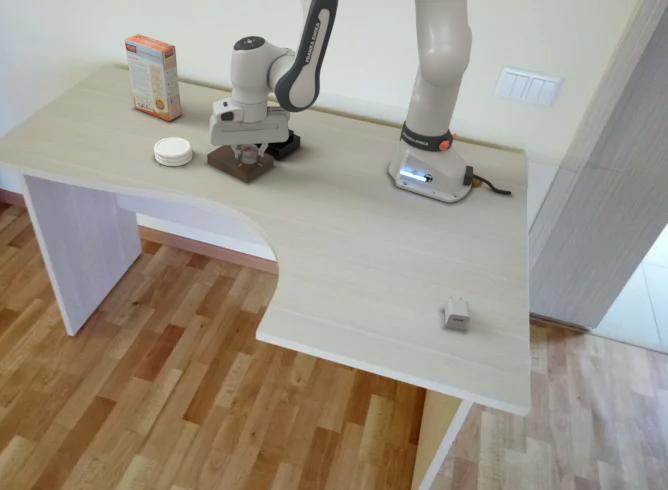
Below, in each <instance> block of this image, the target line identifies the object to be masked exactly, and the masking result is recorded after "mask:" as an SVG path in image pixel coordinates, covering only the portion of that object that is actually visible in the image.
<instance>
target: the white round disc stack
mask: <svg viewBox="0 0 668 490" xmlns="http://www.w3.org/2000/svg"><path fill="white" fill-rule="evenodd" d="M153 150H154V158H155V160H156V161H157V163H159V164H161V165H163V166H167V167H180V166H183V165H186V164H188V163H189V162H191V160H192V159H193V154H194V153H193V145H192V143H191V142H190V141H189V140H187V139H185V138H182V137H177V136H172V137H171V136H170V137H165V138H162V139H160V140H158V141H156V142H155V144H154V146H153Z"/></svg>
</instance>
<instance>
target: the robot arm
mask: <svg viewBox="0 0 668 490" xmlns="http://www.w3.org/2000/svg"><path fill="white" fill-rule="evenodd" d="M339 2H340V0H300V3H301V8H302V28H301V31H300V35H299V39H298V43H297V45H296V49H295V51H294V50H293V49H291V48H288V47H280V46H277V45H274V44H272V43H270V42H268V41H267V40H266V39H265V38H264V37H262V36H259V35H248V36H245V37H242V38H240V39H239V40H237V41H236V42H235V44H234V45H233V48H232V51H231V58H230V81H231V85H232V87H231V88H232V89H231V92H230V96H228V97H225V98H223V99H222V98H221V99H220V100H217V101H214V102H213V103H212V112H213V113H212V114H211V116H210V119H209V124H208V125H209V126H208V139H209V143H210V144H211V145H212V146H213V147H221V146H224V145H231V147H232V149H233V151H234V152H235V158H236V159H241V150H237V145H241V144H257V143H262V146H261V147H260V148H259V149H258V157H263V153H264V151H265V150H266V148H267V147H268V143H274V142H285V141H286V140H287V139H288V137H289V131H288V129H289V121H290V118H291V113H301V112H304V111H307V110H308V109H310V108H311V107H312V106H313V105H314V104H315V103H316V101H317V100H318V98H319V95H320V90H321V70H322V67H323V63H324V60H325V56H326V52H327V50H328V49H327V48H328V45H329V42H330V39H331V36H332V32H333V28H334V25H335V21H336V16H337V11H338V7H339ZM414 7H415V8H414V9H415V27H416V28H415V30H416V42H417V44H416V45H417V53H418V67H417V71H416V74H415V75H416V76H415V79H414V84H413V86H412V87H413V88H412V91H411V96H410V100H409V104H408V109H407V114H406V118H405V119H404V121H403V123H402V128H401V129H400V137H399V144H398V147H397V150H396V152H395V154H394V157H393V159H392V161H391V163H390V165H389V166H388V172H389V174H390V176H391V177H392V178H393V180H394V184H395V187H397V188H398V189H402V190H404V191H409V192H413V193H415V194H419V195H422V196H425V197H427V198H432V199H435V200H438V201H442V202H445V203H449V204H450V203H456V202H458V201H460V200H462V199H463V198H465V196H467V195H468V193H469V192H470V190H471V188H472V184H473V183H472V182H473V179H474V180H477V181H480V182H482V183H484V184H486V185H487V186H488V187H489V188H490V189H491V190H492V191H493V192H495V193H498V194H503V195H509V196H511V194H512V191H510V190H504V189H499V188H497V187H495V186H494V185H493V184H492V183H491V181H490V180H488V179H486V178H484V177H481V176H479V175H476V174H475V173H474V166H471V165H467V163H466V161H465V159H464V158H463V157H462V156H461V154H460V153H459V152H458V151H457V149H456V148H455V147H454V146H453V142H454V140H455V139H456V135H457V132H455V133H454V134H452V132H451V130H450V125H451V122H452V118H453V115H454V112H455V108H456V104H457V101H458V97H459V93H460V90H461V89H460V88H461V85H462V81H463V77H464V74H465V73H466V71H467V69H468V67H469V65H470V59H471V53H472V52H471V51H472V46H473V32H472V29H471V27H470V25H469V19H468V17H469V16H468V15H469V13H468V0H414ZM272 93H273V94H274V96H275V98H276V101H277V103H278V105H279V106H277V105H275V106H274V105H269V106H268V99H269V98H268V96H269V94H272Z"/></svg>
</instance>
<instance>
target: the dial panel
mask: <svg viewBox="0 0 668 490" xmlns="http://www.w3.org/2000/svg"><path fill="white" fill-rule="evenodd" d="M242 145H244V144H241V145H237V150H241V146H242ZM206 161H207V162H206V163H207V165H209V166H210V167H213V168H215V169H217V170H219V171H220V172H223V173H225V174H227V175H229V176H230V177H232V178H235V179H237V180H239V181H241V182H243V183H245V184H249V183H251V182H252V181H254V180H255V179H257V178H258V177H260V176H261V175H263V174H264V173H266V172H268V171H269V170H271V169H272V168H273V167H274V163H275V162H274V161H275V159H274V157H273V156H270V155H268V154H266V153H263V157H258V160H257V162H256V163H253V164H246V163H243V162H242V161H241V159H236V158H235V152H234V151H233V149H232V147H231V145H224V146H218V147H217V148H215V149H214V150H212V151H210V152H209V153H207V154H206Z"/></svg>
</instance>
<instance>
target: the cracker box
mask: <svg viewBox="0 0 668 490" xmlns="http://www.w3.org/2000/svg"><path fill="white" fill-rule="evenodd" d="M124 45H125V51H126V58H127V59H126V60H127V65H128V73H129V77H130V85H131V91H132V98H133V104H134V105H133V106H134V109H135V110H138V111H141V112H144V113H146V114H149V115H151V116H153V117H157V118H158V119H162V120H164V121H166V122H172V121H173V120H175V119H176V118H179V117H180V116H182V108H181V96H180V86H179V74H178V64H177V51H176V46H175V45H174V44H171V43H168V42H164V41H161V40H158V39H154V38H152V37H149V36H146V35H142V34H141V33H140V34H134V35H132V36H129V37H127V38H124Z"/></svg>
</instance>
